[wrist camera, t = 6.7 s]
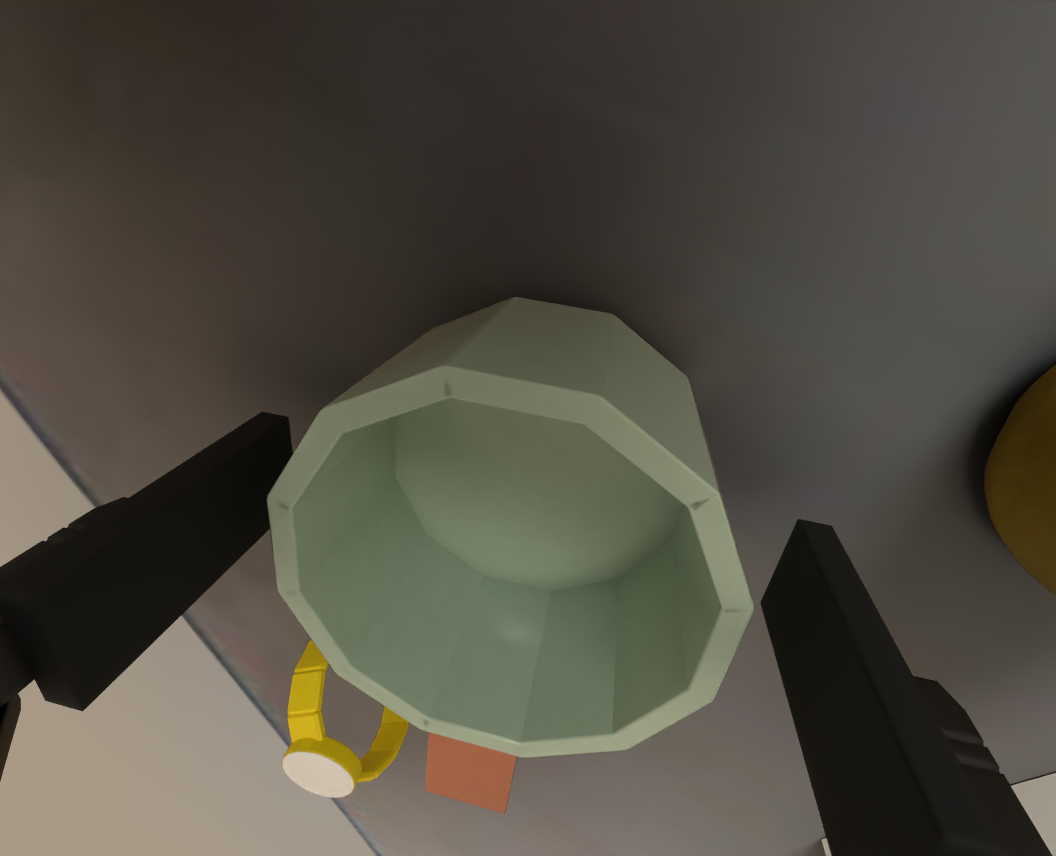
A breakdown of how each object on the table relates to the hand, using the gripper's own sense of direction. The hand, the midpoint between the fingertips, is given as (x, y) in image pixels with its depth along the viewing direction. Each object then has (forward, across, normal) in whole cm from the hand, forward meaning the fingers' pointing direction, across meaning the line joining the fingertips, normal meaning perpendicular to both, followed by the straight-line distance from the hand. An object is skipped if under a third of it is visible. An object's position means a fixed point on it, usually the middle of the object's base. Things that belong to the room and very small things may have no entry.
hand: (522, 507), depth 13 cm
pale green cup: (+3, 0, -2) cm, 4 cm away
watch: (+4, -6, -12) cm, 14 cm away
